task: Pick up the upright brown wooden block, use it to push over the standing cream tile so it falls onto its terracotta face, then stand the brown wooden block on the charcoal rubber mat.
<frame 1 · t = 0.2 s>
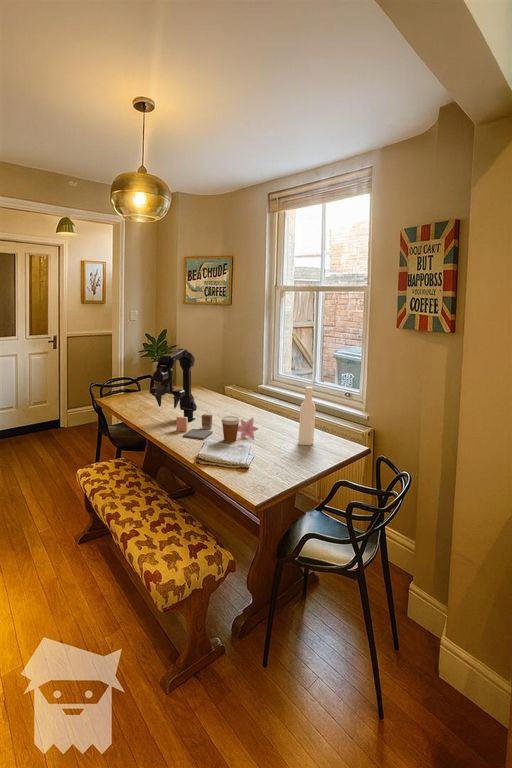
hand: (167, 407, 225), 14 cm above the table, fingers open, 9 cm apart
bottle: (305, 443, 221), on the table
disposable coffee cup: (230, 440, 220), on the table
brown wooden block: (206, 428, 239), on the table
tile: (182, 431, 233), on the table
lily: (246, 437, 227), on the table
rest mat: (198, 434, 227), on the table
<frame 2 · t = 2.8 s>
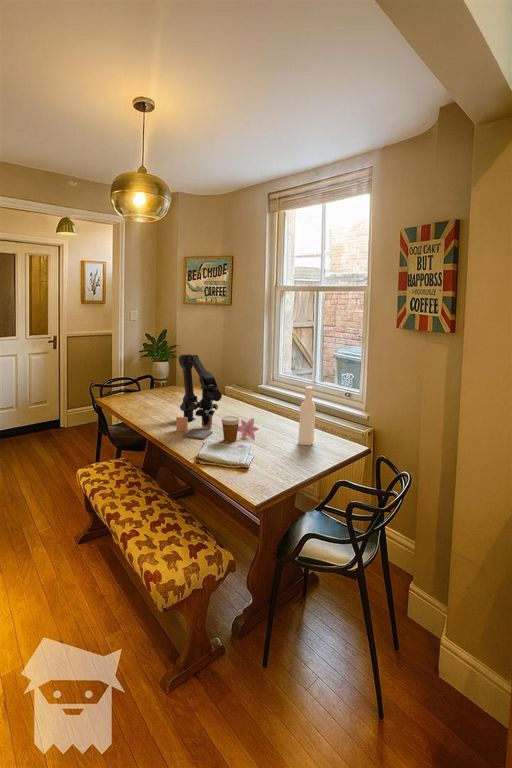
hand: (206, 424, 238), 3 cm above the table, fingers closed on brown wooden block, 3 cm apart
brown wooden block: (206, 428, 239), on the table, touching gripper
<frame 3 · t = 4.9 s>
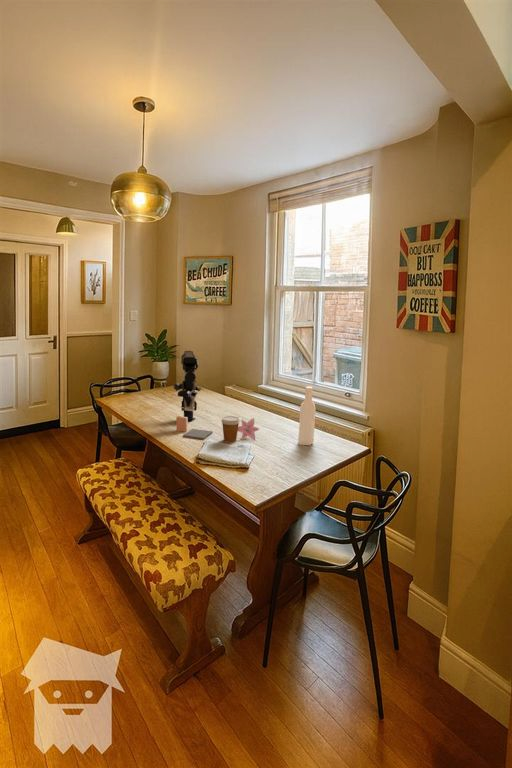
hand: (189, 405, 238), 12 cm above the table, fingers closed on brown wooden block, 3 cm apart
brown wooden block: (189, 410, 239), point 10 cm above the table, touching gripper
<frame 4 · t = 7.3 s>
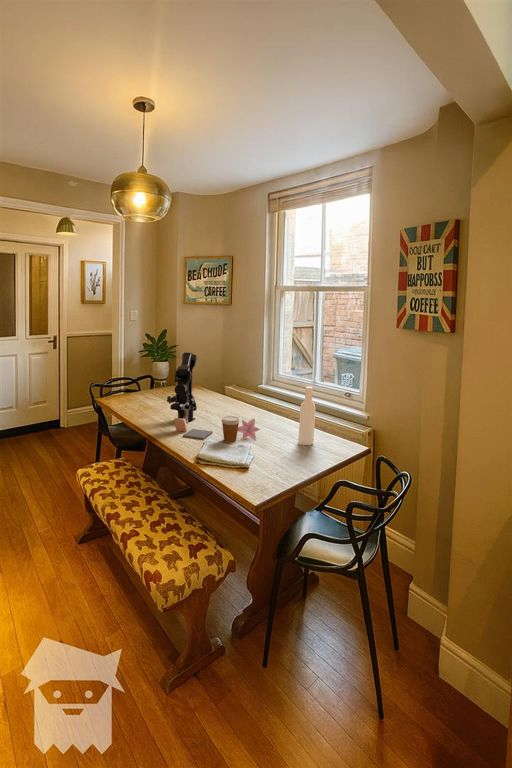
hand: (182, 418, 233), 7 cm above the table, fingers closed on brown wooden block, 3 cm apart
brown wooden block: (183, 423, 233), point 4 cm above the table, touching gripper
tile: (181, 430, 233), on the table, tilted 22°
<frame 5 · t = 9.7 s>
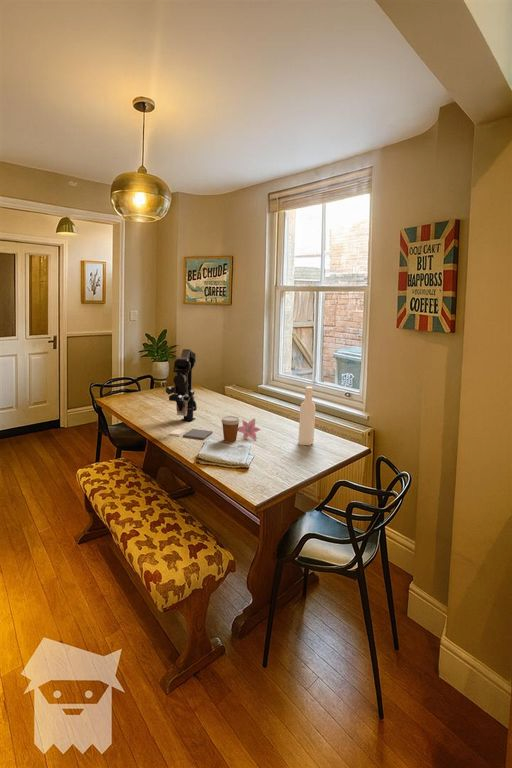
hand: (182, 410, 227), 13 cm above the table, fingers closed on brown wooden block, 3 cm apart
brown wooden block: (181, 415, 228), point 10 cm above the table, touching gripper
tile: (181, 431, 232), on the table, tilted 90°
when the fingers open (5 cm above the table, at t = 11.9 s): brown wooden block drops 1 cm, resting on rest mat.
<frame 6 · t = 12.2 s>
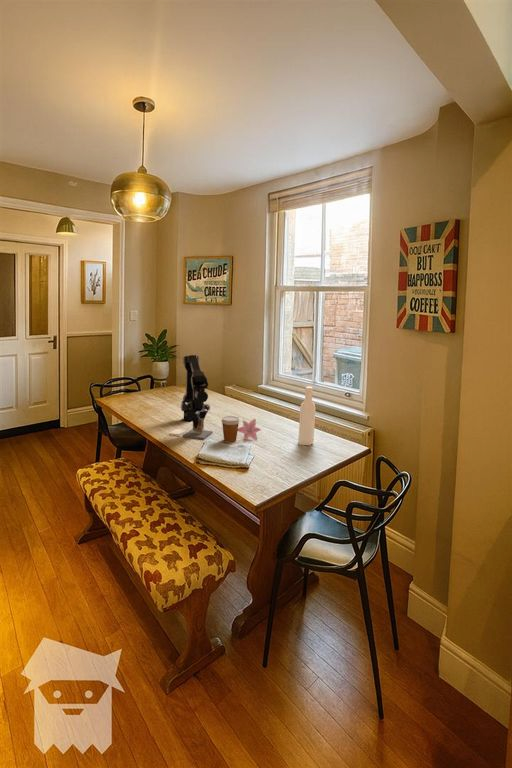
hand: (198, 426, 226), 5 cm above the table, fingers open, 6 cm apart
brown wooden block: (198, 433, 227), point 1 cm above the table, touching rest mat
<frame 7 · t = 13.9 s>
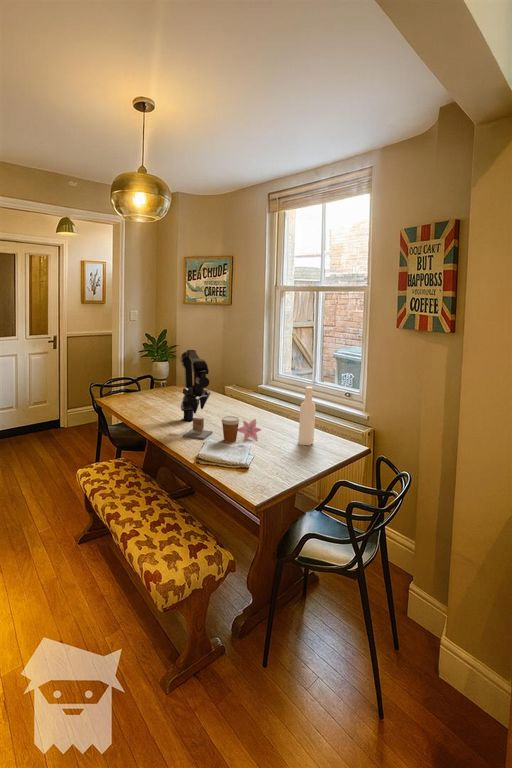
hand: (198, 411, 232), 11 cm above the table, fingers open, 9 cm apart
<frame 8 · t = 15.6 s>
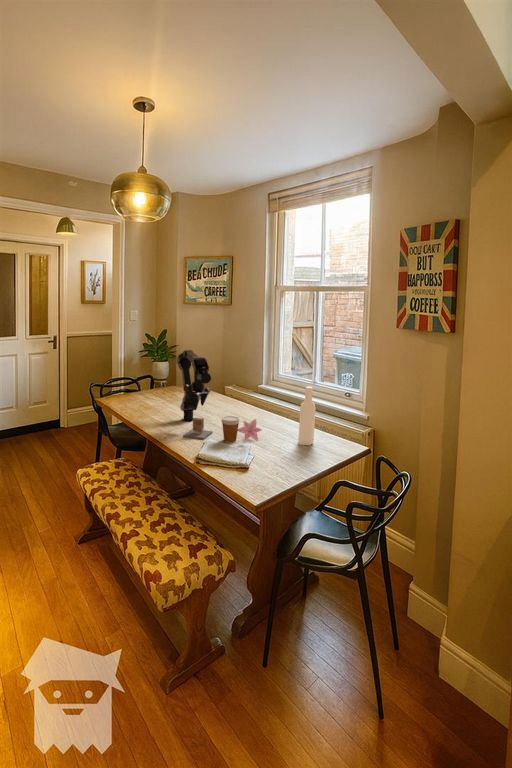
hand: (198, 407, 238), 12 cm above the table, fingers open, 9 cm apart
at the end: tile tilted 90°; brown wooden block inside the target area on the rest mat (0.1 cm from its centre), point 1.0 cm above the rest mat's base; brown wooden block tilted 0° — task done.
